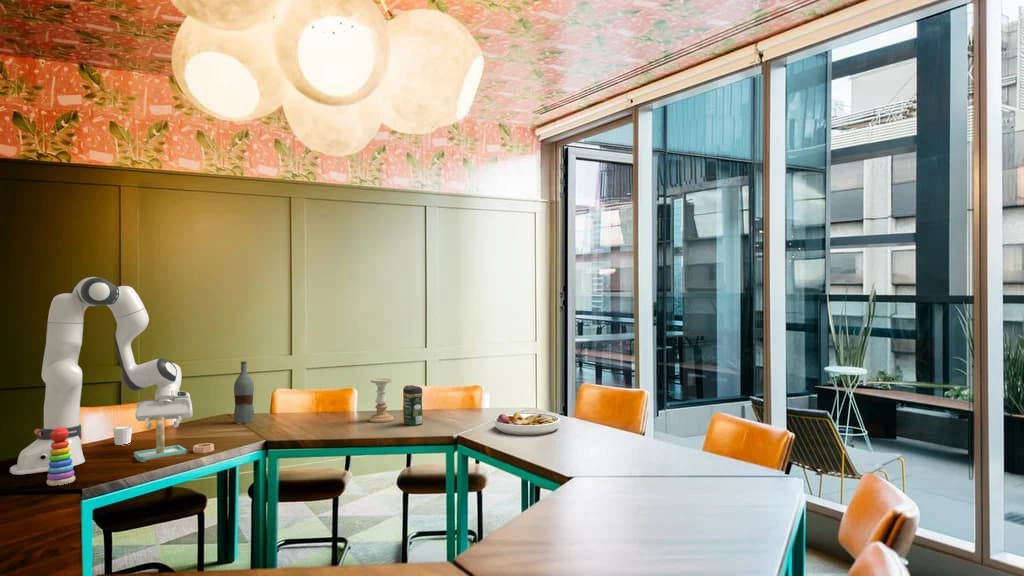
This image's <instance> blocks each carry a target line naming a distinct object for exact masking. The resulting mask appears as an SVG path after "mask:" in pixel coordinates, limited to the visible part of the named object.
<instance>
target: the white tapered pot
mask: <svg viewBox="0 0 1024 576" xmlns="http://www.w3.org/2000/svg"><path fill="white" fill-rule="evenodd" d="M112 430H113V431H112V432H113V438H114V440H113V441H114V445H115V444H116V445H122V446H124V445H123V444H128V443H130V442H131V440H132V434H133V433H132V432H133V431H132V430H133V426H132V425H131V426H130V425H128V426H127V425H125V426H124V425H123V426H118V427H116V426H115V427H114V428H113V429H112ZM130 444H131V443H130ZM116 445H115V446H116ZM128 445H129V444H128Z"/></svg>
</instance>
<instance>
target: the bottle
mask: <svg viewBox="0 0 1024 576" xmlns="http://www.w3.org/2000/svg"><path fill="white" fill-rule="evenodd" d="M247 371H248V370H247V361H240V374H239V375H238V377H237V378H236V379H235V382H234V385H233V393H234V409H233V411H234V412H233V418H234V423H235V424H236V423H248V424H250V423H249V422H252V423H253V422H254V418H255V411H254V410H255V409H254V392H255V391H254V390H255V388H254V380H253V379H252V378H251V376H250V375H249V373H248V372H247Z"/></svg>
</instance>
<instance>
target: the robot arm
mask: <svg viewBox="0 0 1024 576" xmlns="http://www.w3.org/2000/svg"><path fill="white" fill-rule="evenodd" d="M96 306H98V307H99V306H107V307H108V308H109V309H110V310H111V312H112V315H113V317H114V319H115V322H116V330H115V332H114V334H113V342H114V346H115V349H116V353H117V357H118V361H119V364H120V368H121V373H122V375H121V376H122V382H123V384H124V386H125V387H126V388H127V389H130V390H131V391H134V392H139V391H141V390H143V389H146V388H148V387H152V386H154V385H156V387H157V388H156V390H155V395H154V398H153V399H142V400H141V401H139V402H137V404H136V408H137V409H136V412H135V420H136V421H137V422H145V424H146V429H147V430H150V429H151V430H152V428H153V425H152V422H151V421H156V417H164V421H165V420H174V421H173V427H174V428H179V424H180V423H181V422H182V421H183V419H190V418H192V417H193V415H194V414H193V413H194V412H193V411H194V409H193V405H192V399H191V395H190V393H189V392H187V391H183V390H180V388H181V386H182V375H183V374H182V369H181V367H180V366H179V365H178V364H176V363H174V362H171V361H170V360H168V359H166V358H164V357H160V358H157V359H153V360H150V361H147V362H144V363H143V362H142V363H141V364H137V363H136V361H135V357H134V354H133V351H132V346H131V344H132V342H133V340H134V339H136V337H137V336H139V335H140V334H141V333H142V332H144V331H145V330H146V328H147V327H148V324H149V321H150V318H149V314H148V312H147V309H146V307H145V305H144V303H143V301H142V299H141V298H140V296H139V294H138V293H137V292H136V290H135V289H134V288H133V287H131V286H130V285H120V286H117V285H115V284H113V283H112V282H110V281H109V280H107V279H105V278H103V277H98V276H97V277H96V276H91V277H86V278H83V279H81V280H79V281H78V282H77V283H76V284H75V285H74V286H73V288H72V289H71V290H70V292H67V293H66V292H65V293H61V294H60V293H59V294H57V295H55V296H54V297H53V299H52V301H51V303H50V307H49V310H48V318H47V327H46V341H45V348H44V354H43V360H42V367H41V379H42V380H43V382H44V384H45V395H44V404H43V427H42V428H41V429H40V428H36V429H35V430H34V434H35V435H36V440H35V441H33V442H31V444H29V445H28V446H27V447H25V448H24V449H22V450H21V451H20V453H19V455H18V458H17V462H16V463H17V464H14V465H12V466H11V467H9V473H11V474H12V475H26V474H27V475H28V474H36V473H44V472H48V468H49V467H50V466H49V462H50V461H51V460H50V459H49V457H50V455H51V454H50V450H51V449H53V448H51V444H52V443H53V442H54V441H53V440H52V439H51V437H50V434H51V432H52V431H53V430H54V429H55V428H58V427H64V428H66V429H67V430H68V432H69V435H68V438H67V439H66V440H65V441H68V442H69V445H68V446H67V447H69V448H70V451H69V453H70V454H71V457H70V458H71V459H72V463H71V464H73V467H74V466H78V465H81V464H84V463H85V462H86V459H85V456H84V454H83V453H84V452H83V449H82V442H81V440H82V437H83V436H82V435H83V432H82V431H83V430H82V429H83V428H82V424H81V419H80V418H81V413H80V412H81V398H82V397H81V396H82V390H83V389H82V388H83V370H82V368H81V367H80V365H79V358H80V353H81V349H82V348H81V347H82V344H83V331H84V316H85V312H86V310H87V309H88V308H89V307H96ZM175 420H176V421H175Z"/></svg>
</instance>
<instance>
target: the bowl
mask: <svg viewBox="0 0 1024 576" xmlns="http://www.w3.org/2000/svg"><path fill="white" fill-rule="evenodd" d="M493 421H494V426H495V428H496V429H497V430H498V431H500V432H502V433H504V434H508V435H515V436H516V435H518V436H536V435H538V436H539V435H546V434H549V433H553V432H554V431H556V430H557V429H558V428H559V426H560V423H561V419H560V417H558V416H557V415H553V414H548V413H539V412H538V413H537V412H515V413H507V414H504V413H502V414H499V416H496V417H495V418H494V420H493Z"/></svg>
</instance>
